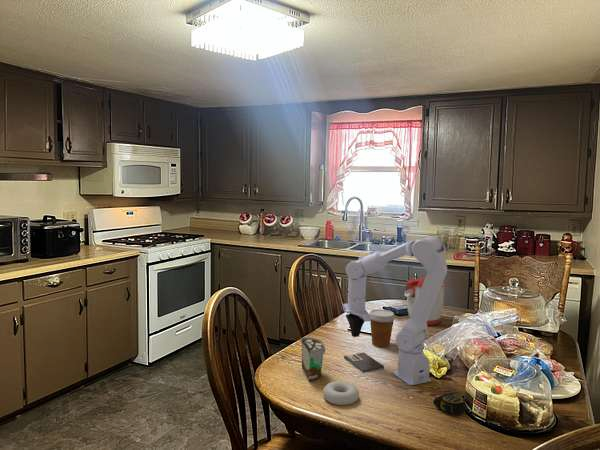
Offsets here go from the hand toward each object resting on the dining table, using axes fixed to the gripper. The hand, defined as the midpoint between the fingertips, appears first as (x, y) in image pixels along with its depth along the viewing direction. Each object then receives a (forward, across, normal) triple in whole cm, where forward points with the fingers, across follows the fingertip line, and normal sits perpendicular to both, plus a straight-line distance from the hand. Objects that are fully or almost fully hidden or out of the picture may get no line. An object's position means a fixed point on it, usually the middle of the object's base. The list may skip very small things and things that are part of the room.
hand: (355, 336), depth 151 cm
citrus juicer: (+9, -25, +48) cm, 55 cm away
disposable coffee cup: (+9, -9, +16) cm, 21 cm away
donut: (+9, +21, -17) cm, 28 cm away
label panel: (+8, +3, +2) cm, 9 cm away
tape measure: (+9, +37, +7) cm, 39 cm away
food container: (+9, +4, -17) cm, 20 cm away
